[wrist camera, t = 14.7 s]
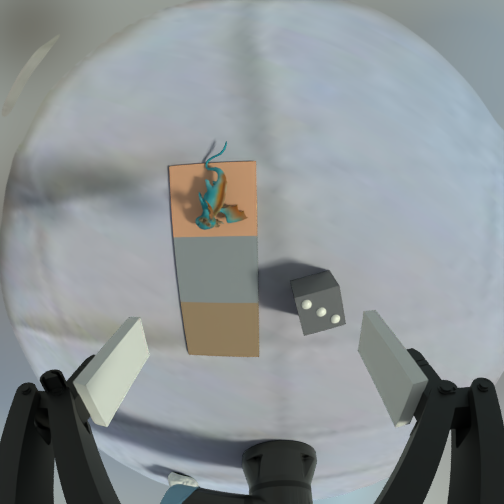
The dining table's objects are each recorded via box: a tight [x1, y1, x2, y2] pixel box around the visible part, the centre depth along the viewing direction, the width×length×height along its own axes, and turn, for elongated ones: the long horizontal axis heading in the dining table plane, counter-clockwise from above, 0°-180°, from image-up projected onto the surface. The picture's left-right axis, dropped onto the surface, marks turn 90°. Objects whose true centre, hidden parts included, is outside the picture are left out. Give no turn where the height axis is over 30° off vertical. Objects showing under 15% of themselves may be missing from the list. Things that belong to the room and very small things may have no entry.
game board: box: [169, 161, 259, 357], centre depth 33 cm, size 26×10×1 cm, turn 1°
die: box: [290, 270, 346, 336], centre depth 31 cm, size 5×5×5 cm
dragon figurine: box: [195, 141, 248, 230], centre depth 29 cm, size 7×7×8 cm
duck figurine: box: [168, 472, 199, 487], centre depth 45 cm, size 12×8×11 cm
